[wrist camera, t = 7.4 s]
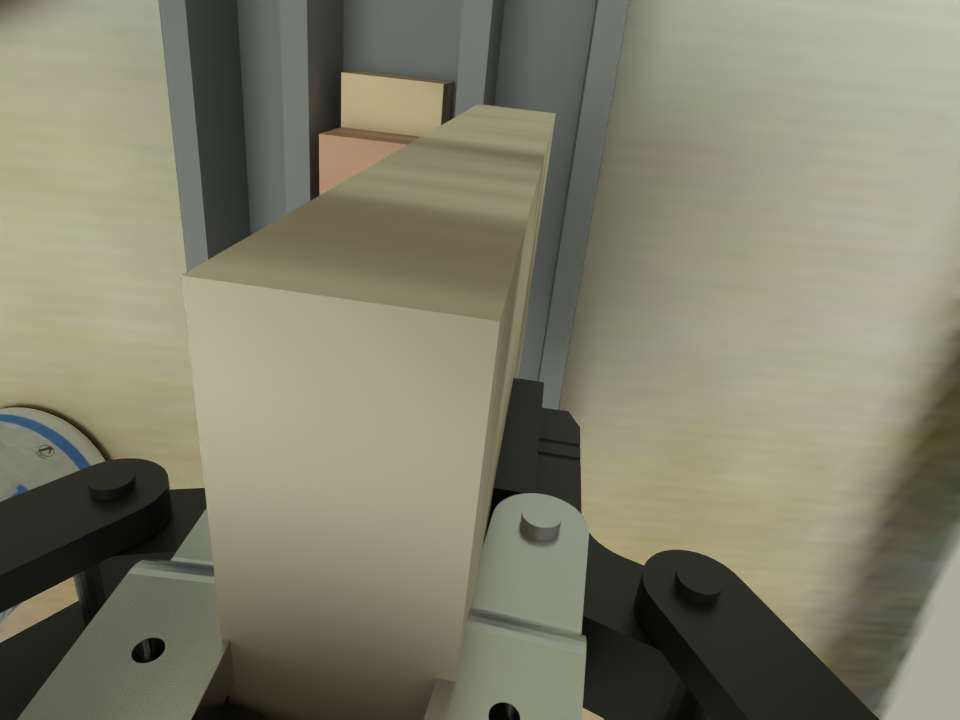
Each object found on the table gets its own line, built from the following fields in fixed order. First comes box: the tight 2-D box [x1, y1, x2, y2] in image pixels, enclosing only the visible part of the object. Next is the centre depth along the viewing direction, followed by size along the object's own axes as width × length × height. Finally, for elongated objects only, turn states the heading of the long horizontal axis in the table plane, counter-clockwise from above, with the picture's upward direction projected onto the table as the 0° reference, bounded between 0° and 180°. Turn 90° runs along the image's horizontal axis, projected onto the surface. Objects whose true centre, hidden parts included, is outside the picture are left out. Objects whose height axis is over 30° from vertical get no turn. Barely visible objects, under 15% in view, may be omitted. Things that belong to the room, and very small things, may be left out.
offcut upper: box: [319, 127, 420, 195], centre depth 26 cm, size 8×4×2 cm, turn 174°
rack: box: [159, 0, 629, 410], centre depth 28 cm, size 26×16×6 cm, turn 174°
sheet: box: [181, 104, 556, 720], centre depth 12 cm, size 10×2×14 cm, turn 174°
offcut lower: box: [341, 71, 454, 137], centre depth 27 cm, size 8×4×2 cm, turn 174°
